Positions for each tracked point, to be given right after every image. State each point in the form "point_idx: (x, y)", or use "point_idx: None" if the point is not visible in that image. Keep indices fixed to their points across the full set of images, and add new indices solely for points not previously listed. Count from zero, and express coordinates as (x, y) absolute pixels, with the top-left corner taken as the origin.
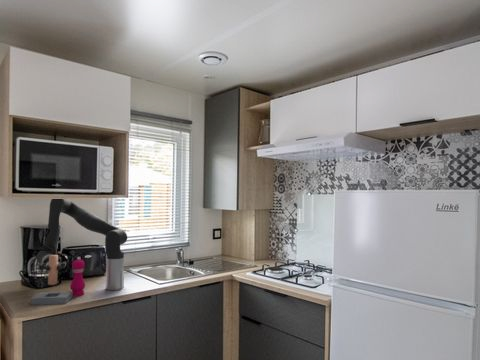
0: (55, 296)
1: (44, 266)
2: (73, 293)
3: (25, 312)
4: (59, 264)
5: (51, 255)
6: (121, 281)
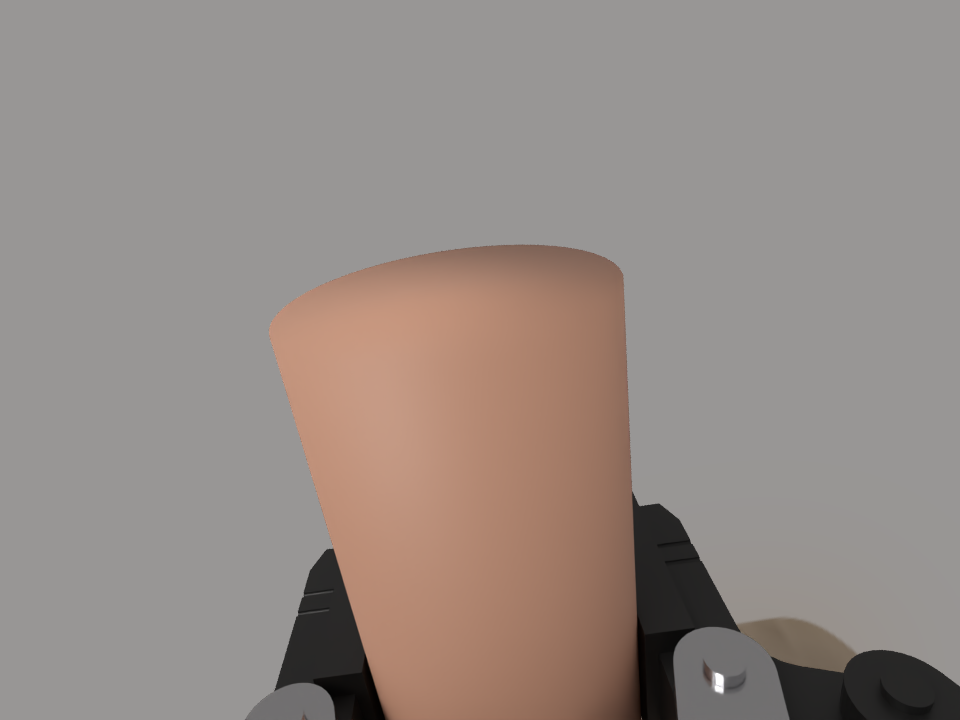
0: None
1: (794, 668)
2: None
3: (781, 647)
4: (290, 693)
5: (534, 302)
6: None
